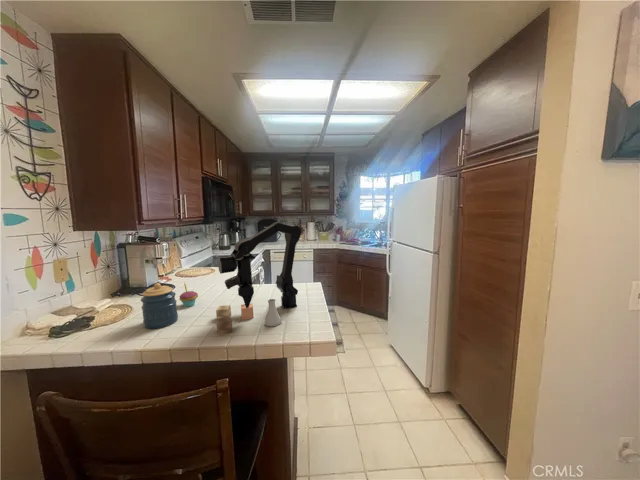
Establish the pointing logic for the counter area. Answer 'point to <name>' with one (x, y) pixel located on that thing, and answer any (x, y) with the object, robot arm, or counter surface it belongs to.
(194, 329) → the counter surface
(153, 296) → the canister
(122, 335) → the counter surface
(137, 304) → the counter surface
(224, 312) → the maple block
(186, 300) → the cupcake
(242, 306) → the terracotta block
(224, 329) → the walnut block
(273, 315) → the flask
